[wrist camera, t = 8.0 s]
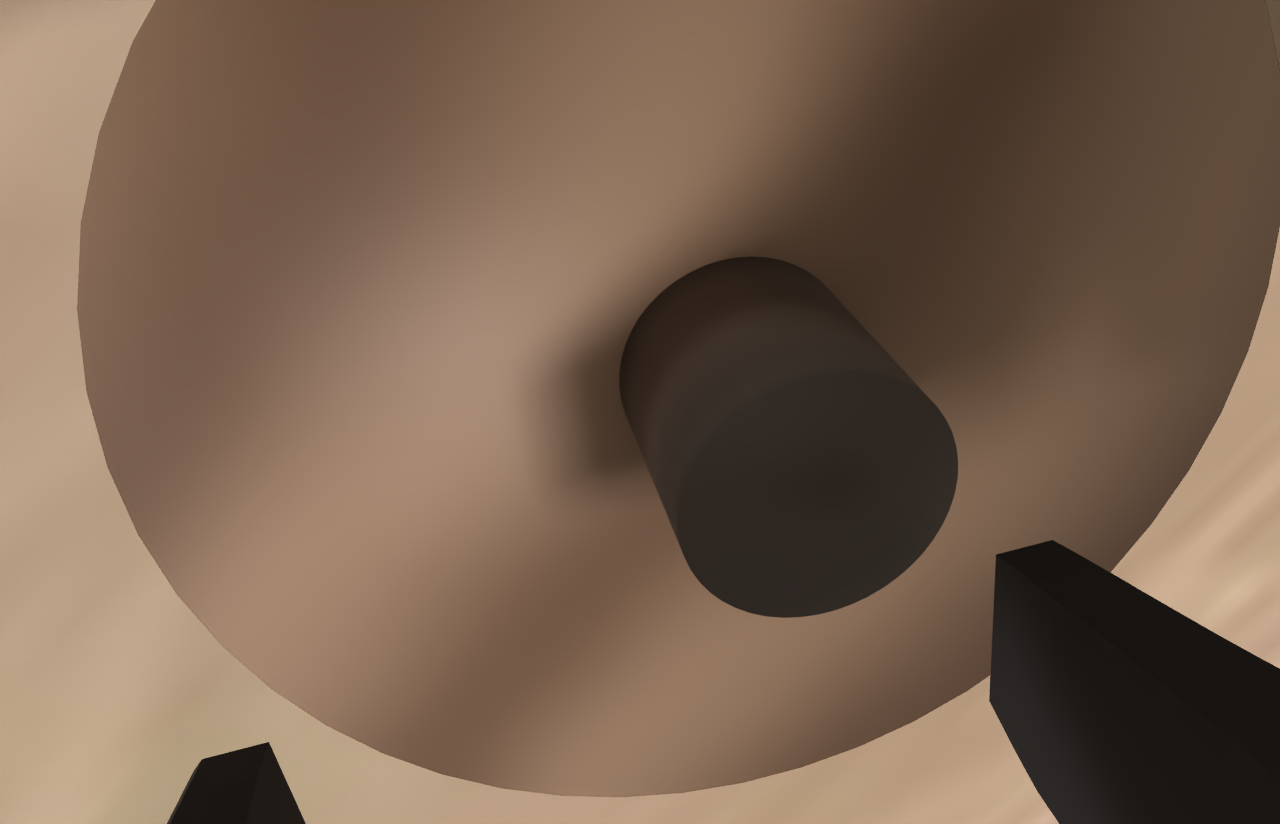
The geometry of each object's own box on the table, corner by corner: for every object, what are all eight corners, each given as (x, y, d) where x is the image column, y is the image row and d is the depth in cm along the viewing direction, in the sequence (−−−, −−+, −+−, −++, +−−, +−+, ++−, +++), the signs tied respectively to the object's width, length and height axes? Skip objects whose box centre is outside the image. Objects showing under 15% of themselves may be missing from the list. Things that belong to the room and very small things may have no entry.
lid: (-33, 635, 14) (-159, 898, 11) (362, -740, 9) (357, -1067, 6) (871, 812, 20) (973, 1020, 17) (1444, 43, 15) (1767, 118, 11)
